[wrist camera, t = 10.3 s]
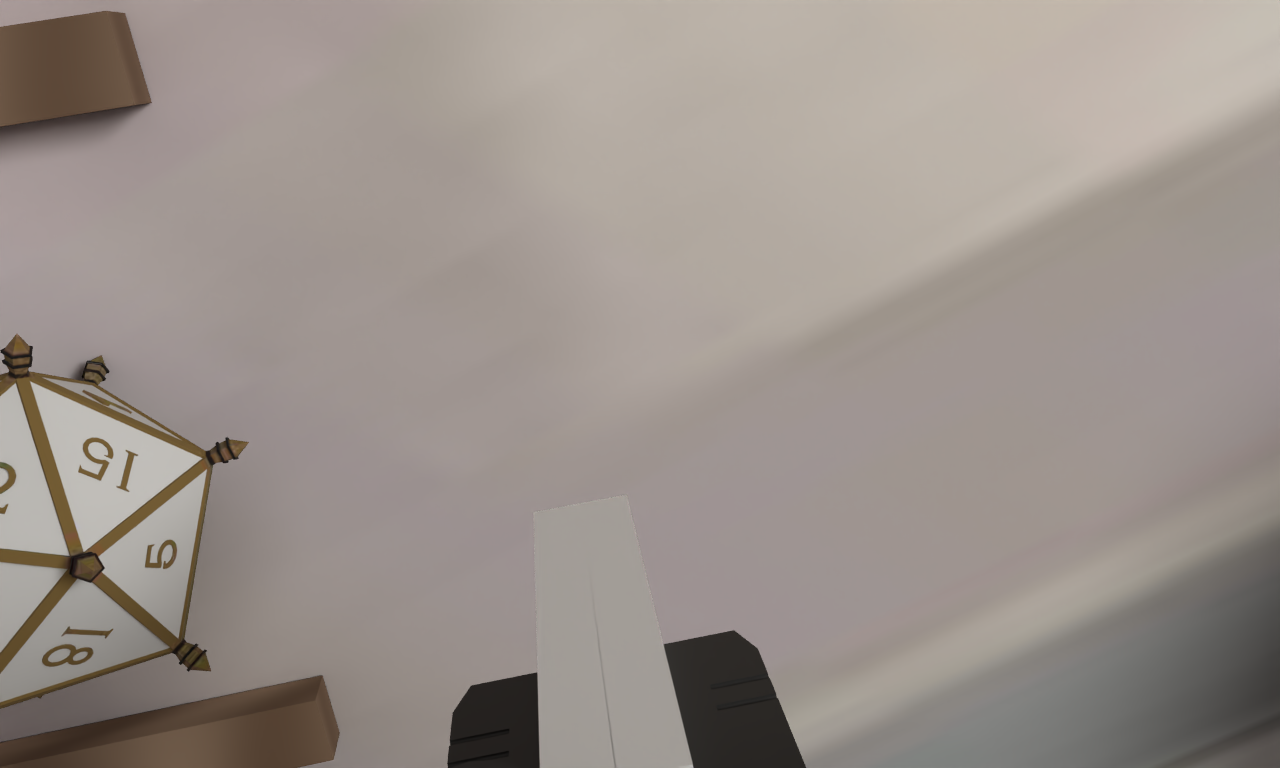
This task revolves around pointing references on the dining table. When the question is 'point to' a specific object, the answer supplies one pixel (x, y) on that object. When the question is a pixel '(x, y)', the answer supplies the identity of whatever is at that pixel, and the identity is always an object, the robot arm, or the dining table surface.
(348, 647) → the dining table surface
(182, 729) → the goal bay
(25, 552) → the game die
